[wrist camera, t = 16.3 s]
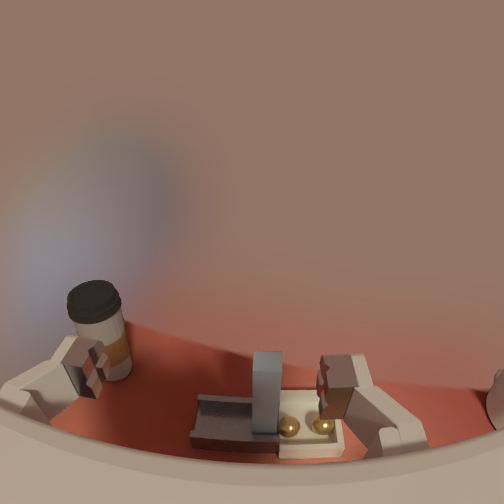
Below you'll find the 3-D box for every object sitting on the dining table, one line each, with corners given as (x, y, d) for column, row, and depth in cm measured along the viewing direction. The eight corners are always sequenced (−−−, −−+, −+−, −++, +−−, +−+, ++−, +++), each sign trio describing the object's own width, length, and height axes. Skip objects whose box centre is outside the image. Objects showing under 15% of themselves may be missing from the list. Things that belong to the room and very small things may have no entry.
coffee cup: (145, 378, 47) (123, 300, 40) (97, 392, 43) (65, 316, 36) (131, 346, 53) (112, 273, 46) (88, 359, 49) (62, 286, 42)
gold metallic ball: (331, 419, 39) (335, 410, 37) (332, 438, 37) (336, 430, 35) (310, 419, 40) (313, 410, 38) (309, 438, 37) (313, 430, 35)
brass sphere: (303, 414, 38) (285, 411, 37) (306, 435, 36) (287, 433, 35) (289, 420, 40) (271, 418, 39) (291, 440, 38) (273, 439, 36)
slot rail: (278, 410, 42) (279, 398, 41) (278, 452, 35) (280, 442, 34) (200, 406, 42) (198, 393, 41) (192, 447, 36) (189, 436, 35)
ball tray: (332, 399, 43) (335, 389, 42) (340, 456, 34) (344, 447, 33) (278, 400, 44) (279, 390, 42) (278, 458, 35) (279, 450, 33)
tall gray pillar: (275, 415, 40) (281, 348, 34) (275, 439, 36) (282, 375, 31) (253, 415, 40) (253, 347, 34) (251, 438, 37) (252, 374, 31)
